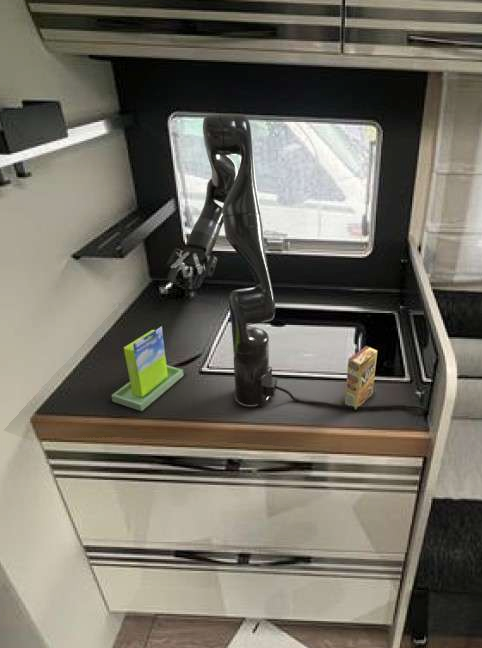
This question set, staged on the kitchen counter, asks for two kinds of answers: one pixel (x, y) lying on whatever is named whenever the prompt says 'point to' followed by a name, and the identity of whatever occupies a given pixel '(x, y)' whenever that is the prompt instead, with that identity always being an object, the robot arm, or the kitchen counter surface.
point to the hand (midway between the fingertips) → (182, 284)
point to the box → (146, 362)
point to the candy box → (360, 377)
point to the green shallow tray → (138, 403)
